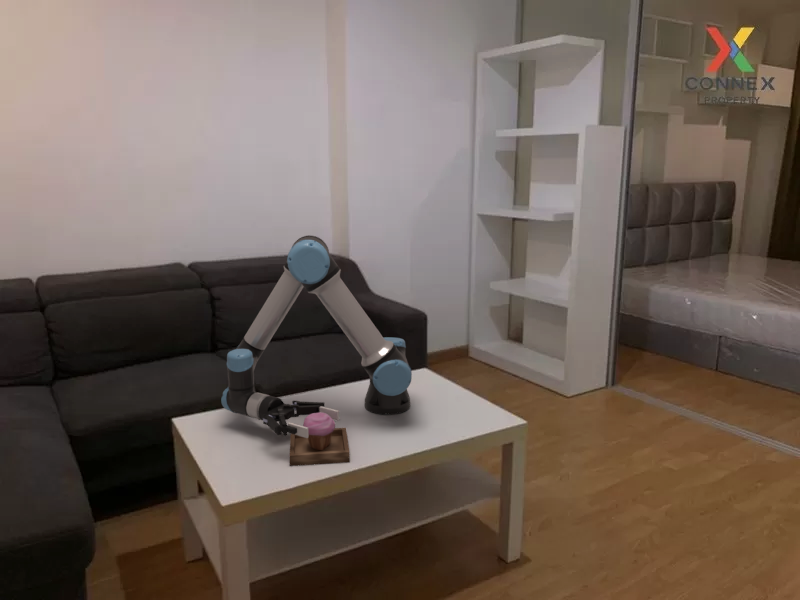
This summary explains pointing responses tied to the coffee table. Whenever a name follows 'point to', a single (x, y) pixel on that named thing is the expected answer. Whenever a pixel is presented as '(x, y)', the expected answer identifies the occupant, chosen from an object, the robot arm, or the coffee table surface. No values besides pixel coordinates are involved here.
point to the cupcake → (319, 430)
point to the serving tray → (331, 454)
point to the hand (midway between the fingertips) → (323, 424)
